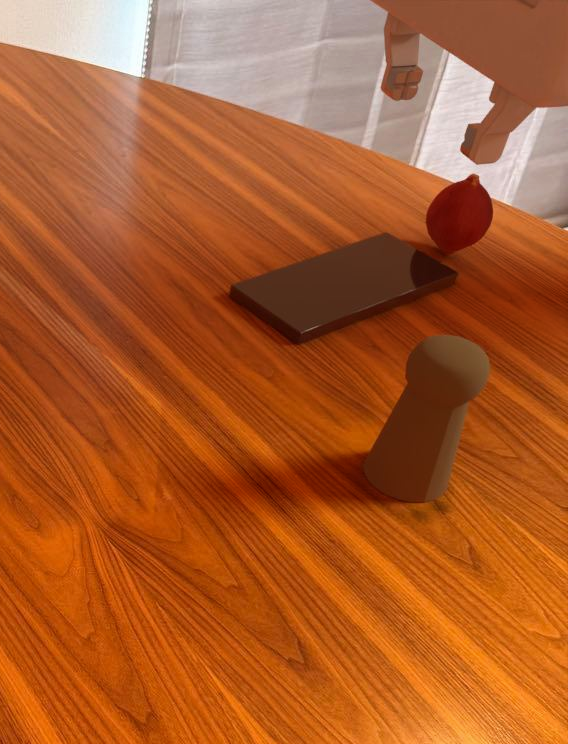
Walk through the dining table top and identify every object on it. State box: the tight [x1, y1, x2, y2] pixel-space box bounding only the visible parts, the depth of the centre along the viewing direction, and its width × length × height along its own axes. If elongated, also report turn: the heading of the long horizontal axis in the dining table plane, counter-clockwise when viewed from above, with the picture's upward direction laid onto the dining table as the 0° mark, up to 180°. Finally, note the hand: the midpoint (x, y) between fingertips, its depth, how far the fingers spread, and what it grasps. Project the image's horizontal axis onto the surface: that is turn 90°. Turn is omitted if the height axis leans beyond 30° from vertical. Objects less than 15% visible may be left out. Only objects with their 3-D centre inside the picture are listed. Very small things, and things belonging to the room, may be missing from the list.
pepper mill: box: [362, 334, 491, 503], centre depth 67 cm, size 6×6×11 cm
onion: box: [425, 173, 494, 255], centre depth 92 cm, size 6×6×8 cm
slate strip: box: [228, 231, 460, 345], centre depth 89 cm, size 20×9×1 cm, turn 122°
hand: (435, 126), depth 59 cm, fingers open, 8 cm apart
